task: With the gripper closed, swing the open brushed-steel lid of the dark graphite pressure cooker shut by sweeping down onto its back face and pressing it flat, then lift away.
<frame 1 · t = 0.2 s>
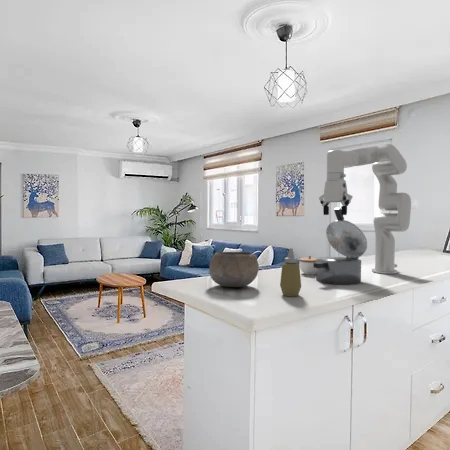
hand: (334, 214, 165), 31 cm above the worktop, tool pointing down, fingers open, 9 cm apart
clay pot: (233, 287, 153), on the worktop
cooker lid: (345, 233, 170), point 22 cm above the worktop, hinge at 60.0°
cooker pot: (338, 280, 168), on the worktop
squeeze bottle: (290, 295, 138), on the worktop
lidded jar: (309, 274, 188), on the worktop
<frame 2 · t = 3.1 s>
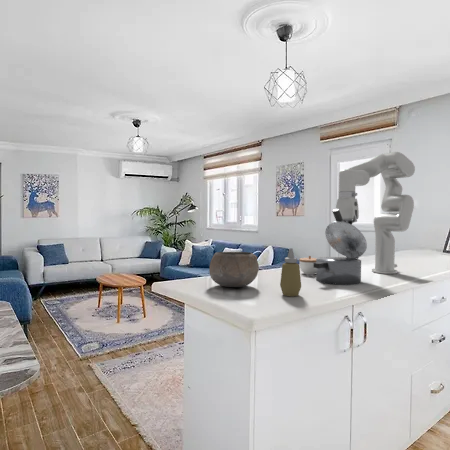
hand: (346, 234, 171), 22 cm above the worktop, tool pointing down, fingers closed
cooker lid: (344, 234, 170), point 22 cm above the worktop, hinge at 57.0°, touching gripper
everything else where it was.
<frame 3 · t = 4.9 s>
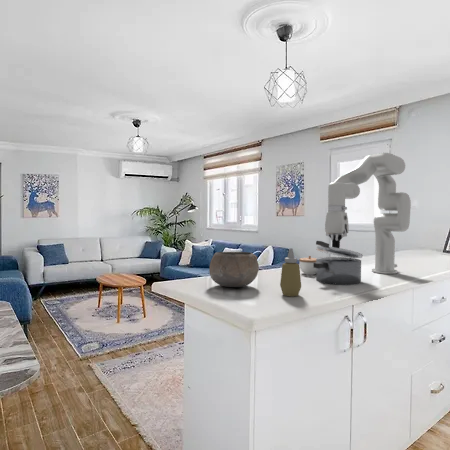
hand: (335, 248, 166), 15 cm above the worktop, tool pointing down, fingers closed
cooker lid: (336, 249, 166), point 15 cm above the worktop, hinge at 15.4°
everything else where it was.
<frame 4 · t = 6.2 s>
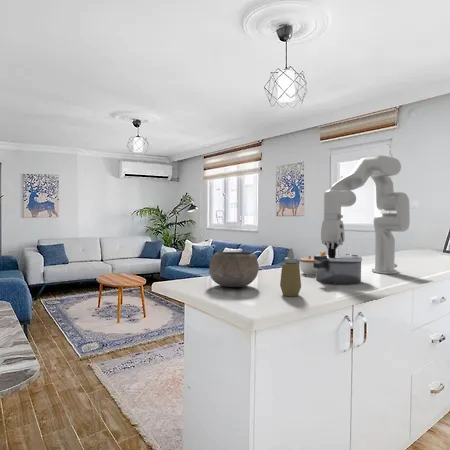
hand: (331, 257, 164), 11 cm above the worktop, tool pointing down, fingers closed
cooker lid: (335, 256, 166), point 12 cm above the worktop, hinge at 0.4°, touching gripper
everything else where it was.
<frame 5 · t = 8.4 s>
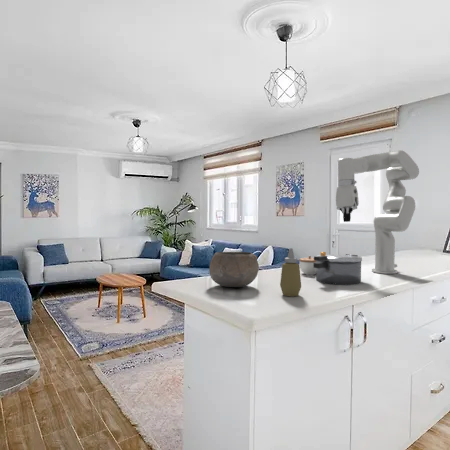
hand: (346, 221, 175), 28 cm above the worktop, tool pointing down, fingers closed
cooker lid: (335, 256, 166), point 12 cm above the worktop, hinge at 0.0°, touching cooker pot
everything else where it was.
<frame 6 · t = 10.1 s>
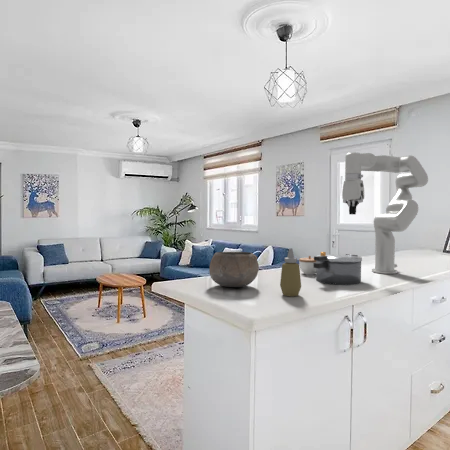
hand: (352, 214, 180), 31 cm above the worktop, tool pointing down, fingers closed
nothing on the worktop moved.
at the end: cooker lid at +0° (first picture: +60°) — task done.
